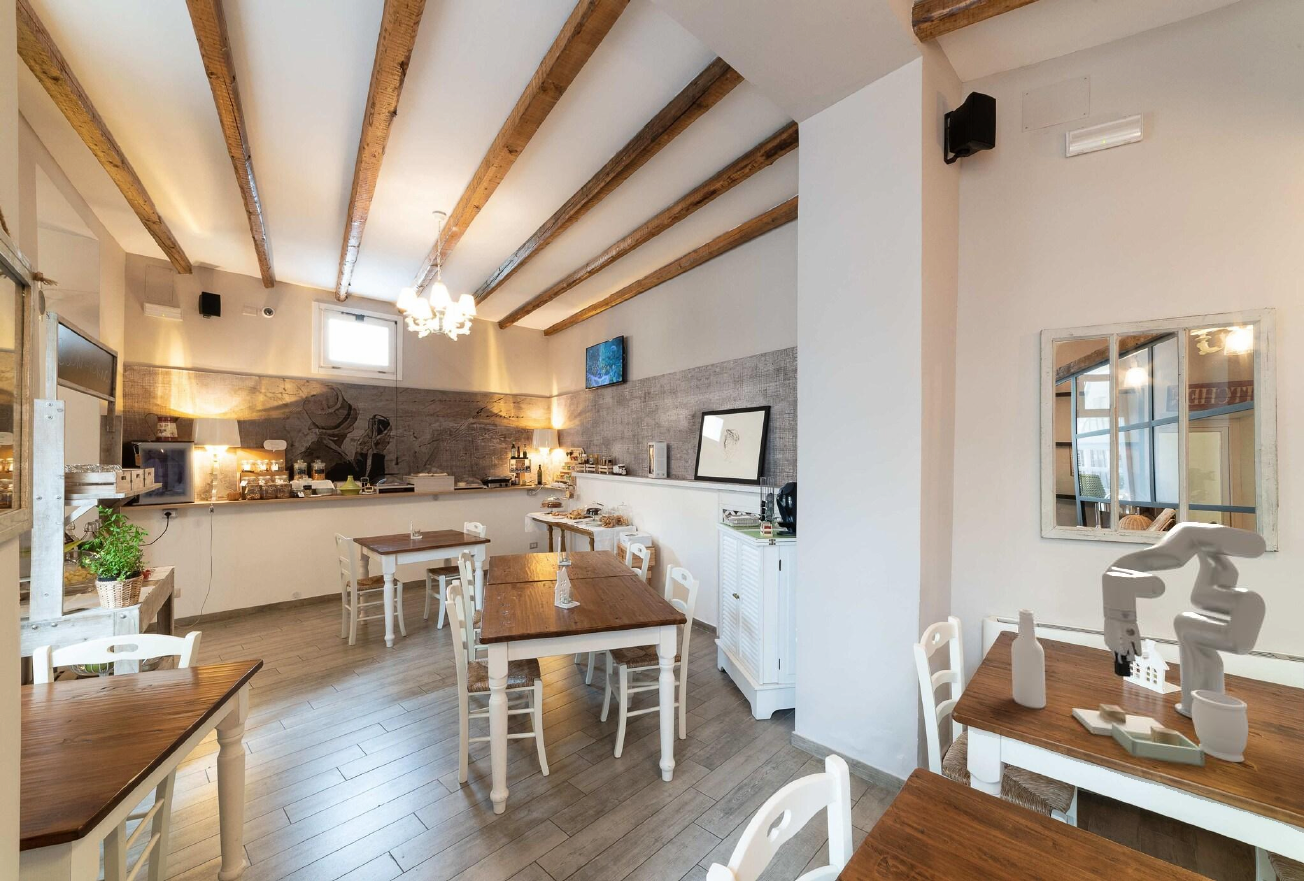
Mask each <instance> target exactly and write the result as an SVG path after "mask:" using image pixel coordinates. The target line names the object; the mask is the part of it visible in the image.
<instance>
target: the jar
mask: <svg viewBox="0 0 1304 881" xmlns="http://www.w3.org/2000/svg"><path fill="white" fill-rule="evenodd" d="M1191 696H1192V697H1193V698H1194V700H1193V703H1192V718H1191V719H1192V723H1193V725H1194V726H1193V727H1194V731H1195V734H1196V737H1197V739H1198V740H1199V742H1200V743H1199V744H1198V747H1199V748H1201V749H1202V750H1204V754H1206V755H1208V756H1210V757H1213V758H1216V759H1220V760H1223V761H1226V762H1232V763H1241V762H1244V761H1245V757H1244V756H1243V754H1242V753H1243V752H1244V750H1245V749H1246V746H1247V741H1248V735H1249V722H1248V717H1247V716H1246V714H1245V712H1244V710H1246V711H1247V709H1248V705H1247V703H1246V702H1245V701H1243V700H1241V699H1239V698H1236V697H1234V696H1231V695H1228V694H1226V693H1225V694H1221V693H1216V692H1211V691H1204V690H1194V691H1191Z"/></svg>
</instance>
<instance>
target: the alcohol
mask: <svg viewBox="0 0 1304 881" xmlns="http://www.w3.org/2000/svg"><path fill="white" fill-rule="evenodd" d="M1018 616H1019V617H1018V618H1019V620H1018V634H1017V637H1016V638H1015V639H1014V640H1013V641H1012V643H1011V647H1010V648H1011V650H1010V653H1011V676H1012V680H1011V682H1012V698H1013V700H1014V701H1015V703H1017V704H1019V705H1021V706H1024V707H1027V708H1031V709H1043V708H1044V707H1045V706H1046V705H1047V702H1046V701H1047V700H1046V699H1047V698H1046V672H1045V671H1046V670H1045V667H1046V666H1045V651H1044V649H1043V646H1042V644H1041V643H1039V641H1038V639H1037V636H1036V627H1035V622H1034V617H1035V616H1034V612H1033V611H1032V610H1028V609H1019V610H1018Z"/></svg>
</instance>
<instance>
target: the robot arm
mask: <svg viewBox="0 0 1304 881" xmlns="http://www.w3.org/2000/svg"><path fill="white" fill-rule="evenodd" d="M1266 550H1267V542H1266V541H1265V538H1264V537H1263V536H1262V535H1261V534H1260V533H1258V532H1256V531H1252V530H1247V529H1242V528H1235V527H1231V526H1227V525H1222V524H1221V525H1220V524H1211V523H1202V522H1200V523H1199V522H1181V523H1178V524H1176V525H1174V526H1173V527H1172V528H1171V529H1170V530H1169V531H1167V532H1166V534H1164V535H1163V536H1162V537H1161V538H1160V539H1159V540H1158V541H1157V542H1156V543H1154V545H1152V546H1150V547H1146V548H1143V549H1141V550H1138V551H1133V552H1131V553H1128V554H1125V555H1123V556H1121V557H1119V558H1117V559H1116V560H1115V561H1114V562H1113V563H1112V564H1110V566H1108V568H1106V570H1105V572H1104V573H1103V574H1102V575H1101V587H1102V589H1101V590H1102V611H1103V612H1102V613H1103V618H1104V622H1103V641H1104V645H1105V646H1106V647H1107V648H1108V649H1109V650H1110V652H1111V653H1112V654H1111V655H1112V660H1114V661H1113V663H1114V664H1113V665H1114V667H1113V668H1114V674H1115V675H1116V676H1118V677H1122V678H1123V677H1125V678H1126V677H1127V678H1130V677H1131V664H1132V662H1136V657H1140V658H1141V657H1142V656H1143V649H1142V640H1141V633H1140V629H1139V626H1138V625H1139V624H1138V623H1137V622H1138V620H1137V619H1138V618H1137V599H1138V598H1140V599H1147V600H1148V599H1149V600H1150V599H1151V600H1152V599H1157V598H1160V597H1162V596H1163V595H1164V593H1165V591H1166V584H1165V582H1164V581H1163V579H1161V578H1160V576H1157V575H1155V574H1152V573H1148V572H1157V571H1172V570H1177V569H1180V568H1183V567H1184V566H1185V565H1186V564H1187V563H1188V562H1189V561H1190V560H1192V558H1194V557H1195V555H1196V556H1197V558H1198V562H1199V569H1198V570H1199V571H1198V573H1197V576H1196V579H1195V582H1194V584H1193V587H1192V590H1191V593H1190V603H1191V605H1192V606H1193V607H1194V608H1196V609H1197V610H1199V611H1203V612H1205V613H1210V614H1214V615H1219V616H1221V617H1227V618H1230V619H1229V620H1228V619H1223V618H1220V617H1216V616H1213V615H1209V614H1208V615H1207V614H1204V613H1198V612H1192V611H1189V612H1188V611H1184V612H1180V613H1178V614H1177V615H1176V616H1175V617H1174V619H1173V630H1174V633H1175V637H1176V640H1177V645H1178V654H1179V655H1178V656H1179V675H1180V693H1181V694H1180V696H1181V698H1180V699H1181V702H1178V703H1176V704H1175V705H1174V709H1175V711H1176V712H1178V713H1179V714H1180V715H1183V716H1185V717H1187V718H1189V719H1192V703H1193V700H1194V698H1193V697H1192V696H1191V691H1194V690H1204V691H1211V692H1216V693H1221V694H1225V695H1226V689H1225V688H1226V687H1225V665H1224V661H1223V659H1222V656H1221V655H1220V654H1219V652H1218V651H1221V652H1224V653H1229V654H1232V655H1233V654H1234V655H1237V656H1238V655H1239V656H1246V655H1248V654H1250V653H1251V652H1253V650H1254V648H1255V646H1256V643H1257V640H1258V638H1259V635H1260V631H1261V628H1262V625H1263V622H1264V620H1265V615H1266V610H1267V608H1266V604H1265V600H1264V599H1263V597H1262V596H1261V595H1260V594H1259V593H1258V592H1256V591H1254V590H1250V589H1247V588H1242V587H1238V586H1237V583H1238V581H1239V580H1238V579H1239V571H1238V568H1237V567H1236V565H1235V564H1234V563H1233V562H1232V560H1231V559H1230V558H1229V556H1230V557H1235V558H1236V557H1237V558H1243V559H1257V558H1260V557H1261V556H1263V555H1264V553H1265V552H1266ZM1244 712H1245V714H1246V717H1247V716H1248V712H1247V709H1246V710H1244Z"/></svg>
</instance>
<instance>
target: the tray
mask: <svg viewBox="0 0 1304 881" xmlns="http://www.w3.org/2000/svg"><path fill="white" fill-rule="evenodd" d="M1173 731H1174V732H1175V733H1177V734H1178V746H1174V745H1167V744H1160V743H1152V742H1151V740H1145V739H1138V738H1132V737H1131V736H1129V735H1128V734H1127V733H1126V732H1125V731H1124V730H1122V729H1121V728H1120V727H1119V726H1118V725H1117V724H1115V723H1112V736H1111V737H1112V738H1113V739H1114V740H1115V741H1116V742H1117V743H1119V745H1120V746H1121V747H1122V748H1124V749H1125V750H1126V751H1127V752H1128V753H1129V754H1130V755H1132V756H1133V757H1135V758H1144V759H1150V760H1156V761H1163V762H1171V763H1179V764H1185V765H1191V766H1198V767H1206V761H1205V752H1204V750H1202V749H1201V748H1199V745H1197V744H1195V743H1194V742H1193V741H1191V740H1190V739H1188V738H1187V737H1186V736H1185V735H1183V734H1182V733H1180V732H1179V731H1177V730H1173Z"/></svg>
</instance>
